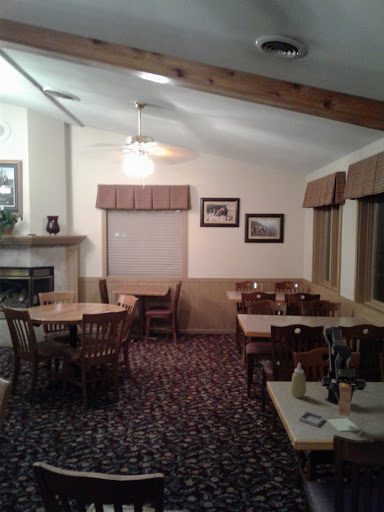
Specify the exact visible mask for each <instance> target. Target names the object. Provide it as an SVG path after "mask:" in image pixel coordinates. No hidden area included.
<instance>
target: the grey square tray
mask: <svg viewBox="0 0 384 512" xmlns="http://www.w3.org/2000/svg"><path fill="white" fill-rule="evenodd" d="M298 421H299V422H302V423H304V424H308V425H311V426H314V427H316V428H317V427H319V426H320V425H321V424H322V423H323V422H324V421H325V416H323V415H321V414H317V413H313V412H311V411H308V410H306V411H305V412H304V413H302V415H300V416H299V417H298Z"/></svg>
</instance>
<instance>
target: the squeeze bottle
mask: <svg viewBox="0 0 384 512" xmlns="http://www.w3.org/2000/svg"><path fill="white" fill-rule="evenodd" d="M306 383H307V382H306V374H305V371H304V369H302V364H301V362H298V363H297V367H296V368H294V372H293V373H292V377H291V385H290V392H291V395H292V397H293V398H298V399H299V398H300V399H303V398H304V397H305V394H306V391H307V384H306Z"/></svg>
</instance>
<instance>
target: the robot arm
mask: <svg viewBox="0 0 384 512" xmlns="http://www.w3.org/2000/svg"><path fill="white" fill-rule="evenodd" d="M323 334H324V335H323V336H324V337H325V342H326V343H327V345H328V351H329V352H328V354H329V355H328V357H329V373H328V374H327V376H326V375H323V377H322V378H321V387H325V389H326V390H327V397H326V398H324V400H325V401H327V402H329V403H333V404H335V405H338V401H340V396H339V383H346V384H350V386H351V402H352V401H353V396H354V392H357V391H364V390H365V389H366V387H367V382H366V380H365V379H358V378H356V379H355V381H351V380H352V377H356V369H355V368H349V362H350V360H351V357H352V354H353V353H352V351H351V350H350V348H349V346H348V345H347V343H346V342H345V341H343V337H342V335H343V334H342V329H341V327H340V326H330V327H327V328H325V329H324V331H323Z"/></svg>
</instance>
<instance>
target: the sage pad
mask: <svg viewBox="0 0 384 512" xmlns="http://www.w3.org/2000/svg"><path fill="white" fill-rule="evenodd" d="M326 421H327V422H328V423H329V424H330V425H331V426H332V427H333V428H334V429H336V431H338V432H339V433H343V432H355V431H360V430H361V429H360V428H359V426H357V425H356V424H355V423H354V422H352V421H351V420H350V419H348V418H345V417H344V418H331V419H327V420H326Z"/></svg>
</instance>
